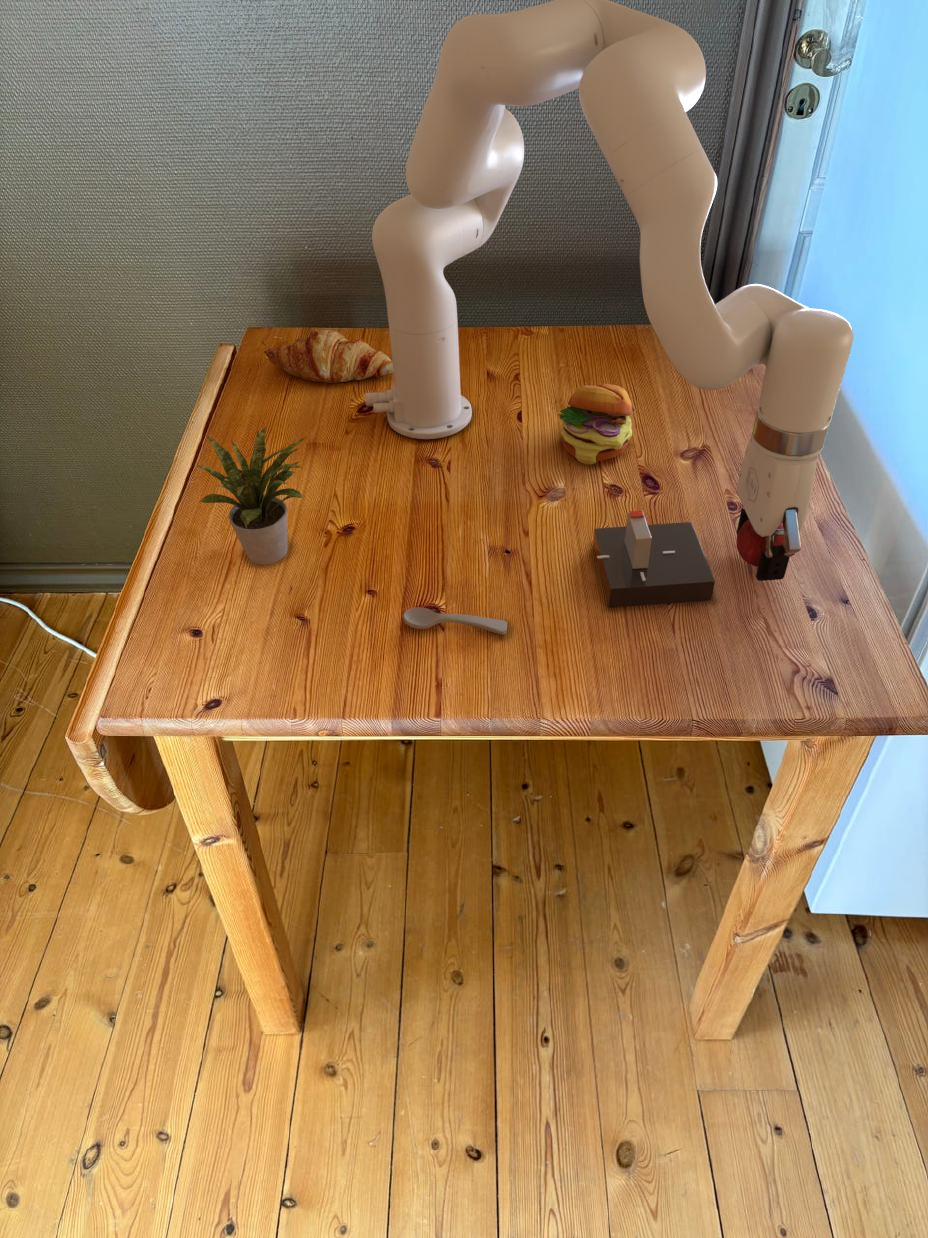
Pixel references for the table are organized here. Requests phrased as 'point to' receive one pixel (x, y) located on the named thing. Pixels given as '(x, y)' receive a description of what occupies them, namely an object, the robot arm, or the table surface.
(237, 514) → the house plant
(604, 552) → the dial base
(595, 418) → the cheeseburger
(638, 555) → the knob
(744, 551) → the onion
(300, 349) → the croissant
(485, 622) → the spoon
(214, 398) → the table surface
